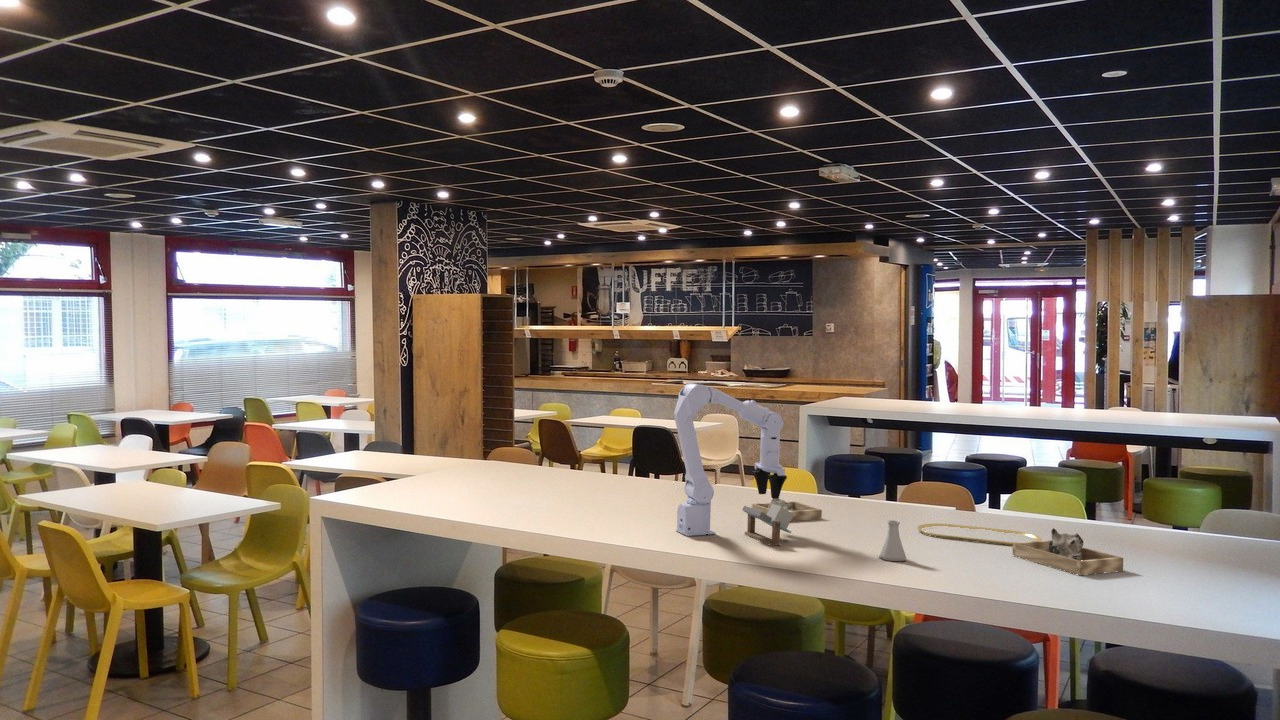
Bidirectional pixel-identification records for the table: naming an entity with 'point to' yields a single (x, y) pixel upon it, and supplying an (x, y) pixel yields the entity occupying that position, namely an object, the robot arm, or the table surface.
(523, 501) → the table surface
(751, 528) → the frame
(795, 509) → the square wooden tray
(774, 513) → the light grey cube
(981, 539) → the serving platter
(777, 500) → the rock sample
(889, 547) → the flask
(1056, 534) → the grey lumpy piece
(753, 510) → the trapdoor
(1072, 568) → the shallow wooden tray
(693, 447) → the robot arm
